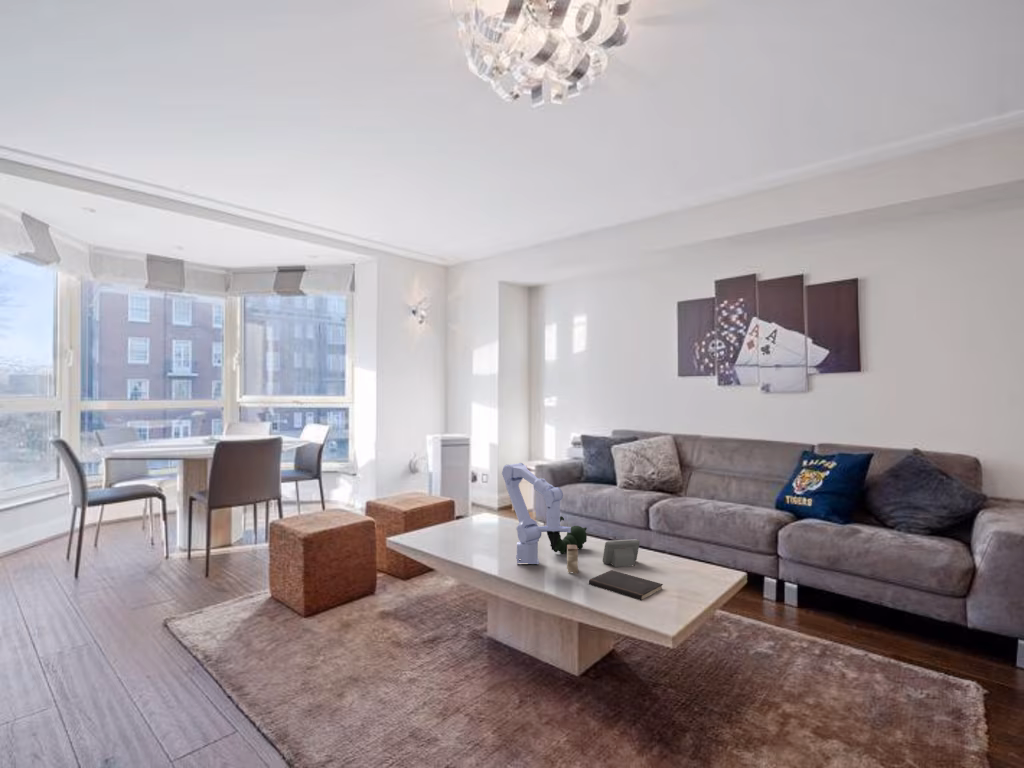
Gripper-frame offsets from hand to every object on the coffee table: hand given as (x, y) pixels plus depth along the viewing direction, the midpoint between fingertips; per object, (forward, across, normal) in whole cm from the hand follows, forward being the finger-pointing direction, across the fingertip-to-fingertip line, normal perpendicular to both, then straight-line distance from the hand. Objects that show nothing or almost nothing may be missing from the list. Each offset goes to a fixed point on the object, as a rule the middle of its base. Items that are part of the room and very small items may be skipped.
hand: (553, 549), depth 217 cm
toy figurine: (+9, +9, +27) cm, 30 cm away
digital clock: (+9, +30, +10) cm, 33 cm away
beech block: (+9, +8, 0) cm, 12 cm away
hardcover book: (+10, +27, -17) cm, 33 cm away
